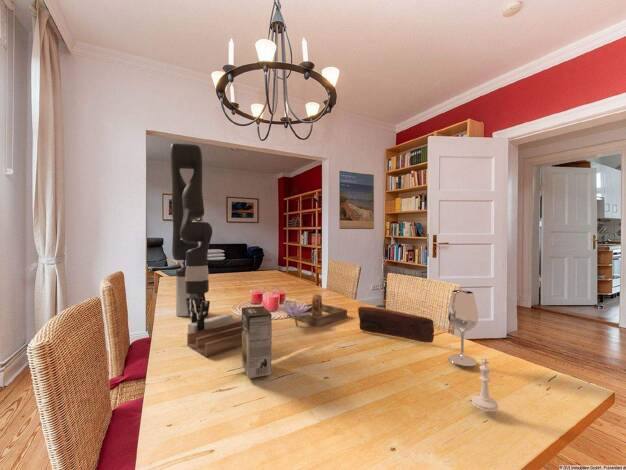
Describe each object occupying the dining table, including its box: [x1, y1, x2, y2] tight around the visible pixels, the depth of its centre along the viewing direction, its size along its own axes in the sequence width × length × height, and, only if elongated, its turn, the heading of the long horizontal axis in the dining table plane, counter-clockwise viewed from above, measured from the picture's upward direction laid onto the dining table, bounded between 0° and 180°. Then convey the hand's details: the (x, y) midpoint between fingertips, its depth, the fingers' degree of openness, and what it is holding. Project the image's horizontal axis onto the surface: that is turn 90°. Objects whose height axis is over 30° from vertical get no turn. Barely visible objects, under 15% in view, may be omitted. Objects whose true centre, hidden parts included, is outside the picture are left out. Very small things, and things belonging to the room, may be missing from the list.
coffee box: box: [241, 305, 273, 379], centre depth 81 cm, size 9×6×16 cm
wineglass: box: [447, 289, 479, 367], centre depth 86 cm, size 8×8×20 cm
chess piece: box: [471, 357, 499, 412], centre depth 64 cm, size 5×5×10 cm
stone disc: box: [311, 294, 323, 317], centre depth 130 cm, size 10×4×10 cm, turn 168°
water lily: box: [278, 301, 312, 327], centre depth 118 cm, size 15×15×9 cm
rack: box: [186, 320, 242, 359], centre depth 100 cm, size 14×20×4 cm
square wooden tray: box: [286, 303, 348, 328], centre depth 130 cm, size 18×18×4 cm
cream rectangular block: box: [187, 313, 233, 333], centre depth 108 cm, size 4×16×6 cm, turn 144°
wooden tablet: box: [357, 306, 435, 344], centre depth 106 cm, size 26×2×10 cm, turn 61°
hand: (197, 328), depth 103 cm, fingers open, 4 cm apart
